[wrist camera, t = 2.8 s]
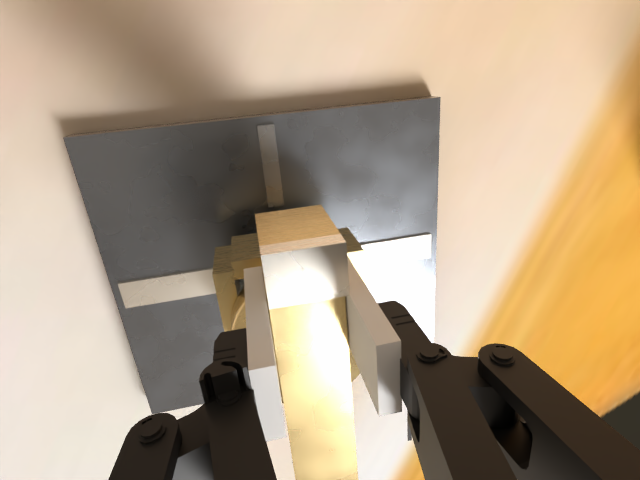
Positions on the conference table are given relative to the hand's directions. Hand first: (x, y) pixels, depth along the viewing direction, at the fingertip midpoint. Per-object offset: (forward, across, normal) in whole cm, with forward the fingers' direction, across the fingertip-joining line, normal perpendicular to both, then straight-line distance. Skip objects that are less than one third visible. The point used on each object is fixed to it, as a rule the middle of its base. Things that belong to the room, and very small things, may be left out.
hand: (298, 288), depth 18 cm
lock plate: (+11, 0, -4) cm, 11 cm away
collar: (+7, 0, -4) cm, 7 cm away
